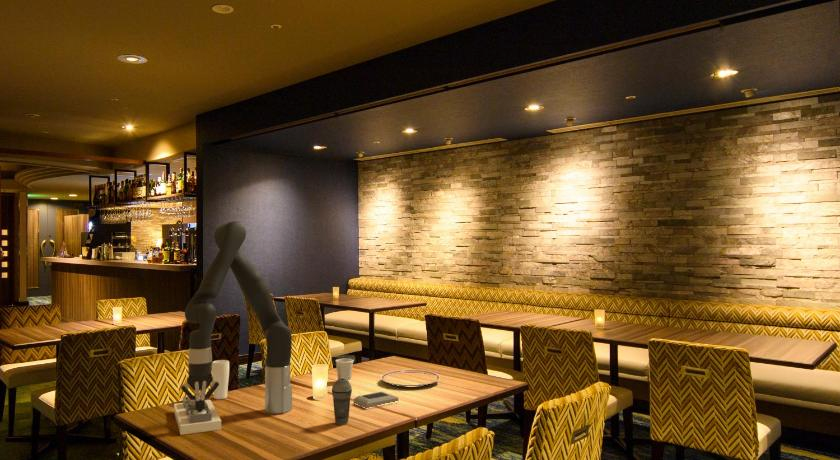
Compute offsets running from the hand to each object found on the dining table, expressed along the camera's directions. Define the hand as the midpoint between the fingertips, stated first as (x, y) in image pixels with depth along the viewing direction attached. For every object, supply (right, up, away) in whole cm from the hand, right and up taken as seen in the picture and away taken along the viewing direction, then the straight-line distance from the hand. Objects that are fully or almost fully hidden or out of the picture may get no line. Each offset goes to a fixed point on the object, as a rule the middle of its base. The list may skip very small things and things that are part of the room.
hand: (199, 410), depth 203 cm
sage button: (0, -3, 0) cm, 3 cm away
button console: (-4, -6, +9) cm, 12 cm away
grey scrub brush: (+59, -7, +31) cm, 67 cm away
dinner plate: (+72, -8, +66) cm, 98 cm away
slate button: (-4, -2, +9) cm, 10 cm away
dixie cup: (+41, -8, +67) cm, 79 cm away
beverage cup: (+48, -6, +6) cm, 49 cm away
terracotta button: (-9, -3, +18) cm, 20 cm away
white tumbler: (-6, -7, +39) cm, 40 cm away
